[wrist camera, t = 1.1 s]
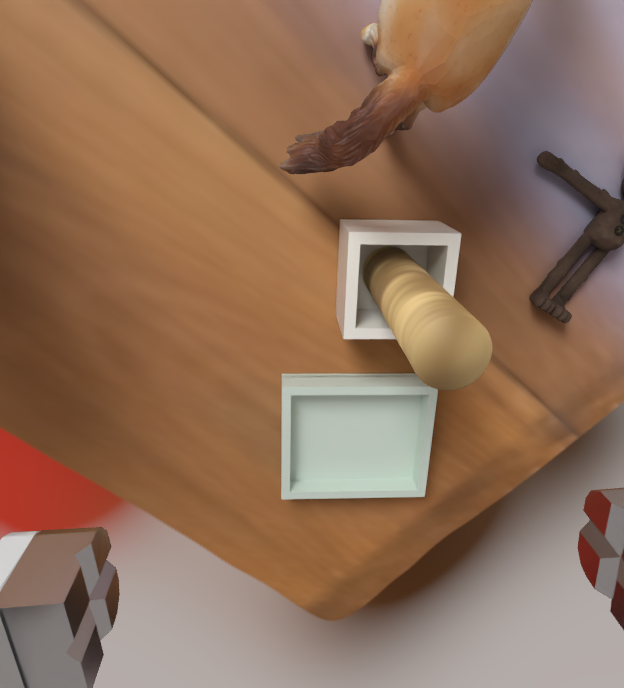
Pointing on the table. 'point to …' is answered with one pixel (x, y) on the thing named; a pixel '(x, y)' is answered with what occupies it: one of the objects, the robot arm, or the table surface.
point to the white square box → (369, 235)
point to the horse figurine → (413, 73)
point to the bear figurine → (580, 239)
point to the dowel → (427, 321)
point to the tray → (355, 435)
